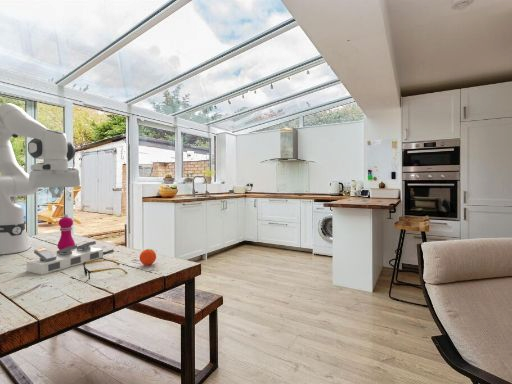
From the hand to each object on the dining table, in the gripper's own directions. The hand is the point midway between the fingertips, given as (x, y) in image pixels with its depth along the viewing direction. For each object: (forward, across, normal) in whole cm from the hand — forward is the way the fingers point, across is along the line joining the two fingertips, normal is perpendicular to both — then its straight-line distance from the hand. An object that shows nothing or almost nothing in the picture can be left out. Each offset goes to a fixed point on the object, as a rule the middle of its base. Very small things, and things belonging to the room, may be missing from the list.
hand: (56, 197), depth 127 cm
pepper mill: (+29, -10, -9) cm, 32 cm away
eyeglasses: (+30, +1, +31) cm, 43 cm away
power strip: (+29, -5, +7) cm, 30 cm away
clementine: (+29, -14, +40) cm, 52 cm away
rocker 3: (+23, -9, +6) cm, 25 cm away
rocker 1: (+23, +9, +7) cm, 25 cm away
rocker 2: (+23, 0, +7) cm, 24 cm away
